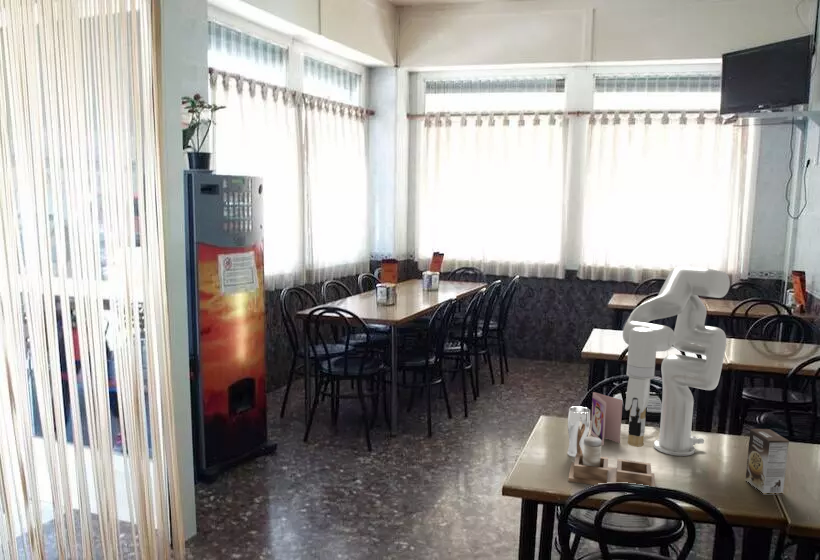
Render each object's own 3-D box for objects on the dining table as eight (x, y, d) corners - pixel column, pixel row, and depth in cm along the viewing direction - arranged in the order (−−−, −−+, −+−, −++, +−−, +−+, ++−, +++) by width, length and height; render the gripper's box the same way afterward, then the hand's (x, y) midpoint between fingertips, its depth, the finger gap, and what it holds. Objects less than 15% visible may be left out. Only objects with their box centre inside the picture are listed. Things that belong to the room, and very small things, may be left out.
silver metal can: (586, 450, 218) (589, 406, 216) (590, 459, 211) (592, 413, 209) (564, 449, 219) (567, 405, 217) (567, 458, 212) (570, 412, 210)
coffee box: (744, 480, 198) (749, 428, 196) (764, 480, 199) (769, 428, 196) (762, 495, 189) (768, 440, 187) (784, 494, 190) (790, 439, 187)
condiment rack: (654, 476, 200) (656, 440, 198) (655, 494, 188) (658, 456, 187) (571, 465, 207) (573, 430, 205) (568, 481, 195) (570, 444, 194)
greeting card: (588, 433, 234) (590, 391, 232) (608, 433, 234) (611, 391, 232) (600, 446, 222) (603, 402, 220) (622, 445, 223) (625, 402, 221)
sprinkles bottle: (636, 440, 197) (639, 396, 195) (647, 446, 193) (650, 401, 191) (623, 442, 195) (626, 397, 193) (634, 448, 191) (637, 402, 189)
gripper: (633, 362, 200) (629, 421, 203) (620, 375, 186) (616, 438, 188) (659, 366, 196) (655, 426, 199) (648, 379, 182) (644, 444, 184)
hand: (636, 431), depth 193 cm, fingers closed on sprinkles bottle, 4 cm apart
